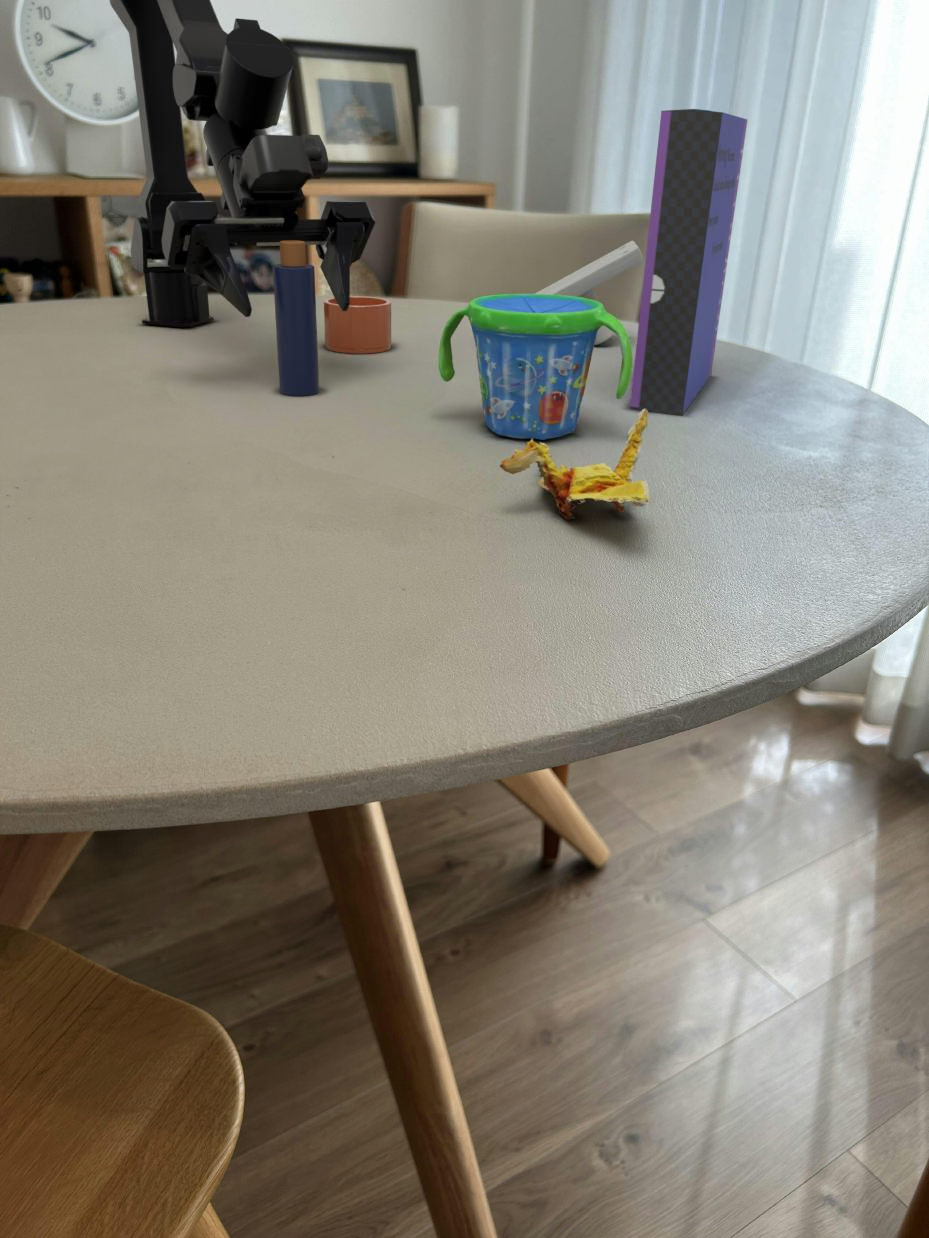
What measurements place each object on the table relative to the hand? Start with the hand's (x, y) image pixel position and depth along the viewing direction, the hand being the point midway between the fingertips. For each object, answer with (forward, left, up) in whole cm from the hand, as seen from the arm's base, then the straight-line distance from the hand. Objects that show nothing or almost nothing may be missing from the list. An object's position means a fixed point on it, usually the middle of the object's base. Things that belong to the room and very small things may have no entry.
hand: (298, 311), depth 85 cm
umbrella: (-1, 0, -7) cm, 7 cm away
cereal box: (+32, +14, -7) cm, 36 cm away
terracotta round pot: (-4, +22, -7) cm, 24 cm away
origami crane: (+30, -23, -7) cm, 39 cm away
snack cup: (+22, -5, -7) cm, 24 cm away
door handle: (+15, +39, -7) cm, 43 cm away
